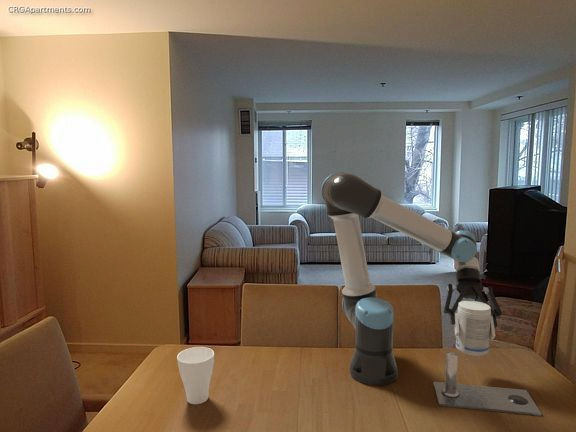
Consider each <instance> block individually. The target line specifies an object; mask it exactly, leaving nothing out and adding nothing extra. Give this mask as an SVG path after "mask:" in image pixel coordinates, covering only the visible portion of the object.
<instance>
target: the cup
mask: <svg viewBox="0 0 576 432" xmlns="http://www.w3.org/2000/svg"><path fill="white" fill-rule="evenodd" d="M176 360H177V361H176V362H177V367H178V371H179V375H180V379H181V381H182V384H183V387H184V390H185V395H186V401H187V403H189V404H191V405H201V404H203V403H205V402H206V401H208V399H209V392H210V391H209V390H210V385H211V384H210V383H211V379H212V375H213V370H214V364H215V352H214V350H213V349H212V348H209V347H207V346H206V347H205V346H194V347H193V346H192V347H189V348H186V349H183V350H181V351H180V352H179V353H178V354H177V357H176Z"/></svg>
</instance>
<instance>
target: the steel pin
mask: <svg viewBox="0 0 576 432" xmlns="http://www.w3.org/2000/svg"><path fill="white" fill-rule="evenodd" d="M458 360H459V354H458V353H456V352H453V351H449V352H446V360H445V361H446V363H445V364H446V365H445V382H444V383H445V388H444V389H443V394H444V395H445V396H447V397H451V398H455V397H458V396H459V392H458V391H457V390H456V386H457V384H458V380H457V379H458Z"/></svg>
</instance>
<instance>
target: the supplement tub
mask: <svg viewBox="0 0 576 432" xmlns="http://www.w3.org/2000/svg"><path fill="white" fill-rule="evenodd" d="M489 305H490V304H489ZM489 305H487V304H485V303H482V302H477V300H462V301H461V302H459V304H458V308H457V311H456V313H458V323H459V335H458V336H455V347H456V349H457V350H458V351H459V352H460V353H463V354H466V355H468V356H469V355H470V356H475V357H480V356H481V357H482V356H485V355H487V354H488V353H489V352H490V349H489V348H490V339H491V338H490V323H491V308H492V306H491V305H490V306H489Z"/></svg>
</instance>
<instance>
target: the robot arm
mask: <svg viewBox="0 0 576 432" xmlns="http://www.w3.org/2000/svg"><path fill="white" fill-rule="evenodd" d="M320 190H321V196H322V199H323V200H324V202H325V206H326V211H327V212H326V213H327V216H328V217H329V218H331V219H332V221H333V225H334V231H335V236H336V240H337V241H336V242H337V247H338V252H339V253H338V254H339V258H340V265H341V268H342V269H341V271H342V274H343V280H344V285H345V286H344V287H343V288H342V290H341V294H342V302H341V304H342V311H343V314H344V316H345V317H346V318H347V319H348V320H349V322H350V323H351V325H352V327H354V328H353V329H354V330H355V347H354V348H355V350H354V351H353V352H354V353H353V354H352V358H351V361H350V363H349V374H350V376H351V377H352V378H353V379H355V380H356V381H357V382H360V383H362V384H365V385H369V386H370V385H371V386H386V385H389V384H392V383H394V382H395V381H396V380H397V379H398V375H399V368H398V365H397V362H396V359H395V355H394V353H393V351H394V350H393V347H394V346H393V345H394V321H395V316H394V315H395V314H394V308H393V305H391V304H390V302H388V301H387V300H385V299H382V298H380V297H378V294H377V289H376V285H375V284H373V283H372V282H371V280H370V274H369V269H368V263H367V259H366V258H367V257H366V250H365V245H364V239H363V234H362V227H361V222H360V217H362V218H365V219H366V220H368V219H374V220H375V221H377V222H379V223H381V224H383V225H385V226H387V227H389V228H391V229H394V230H395V231H398V232H399V233H401V234H403V235H405V236H407V237H409V238H411V239H413V240H415V241H417V242H418V243H420V244H421V245H422V247H423V248H426V249H428V250H433V251H435V252H437V253H440V254H441V255H444V256H446V257H448V258H450V259H453V260H454V267H455V268H454V269H455V280H456V284H451V283H449V284H447V286H446V287H447V288H446V290H447V291H446V292H447V295H446V301H445V305H444V308H443V313H444V314H447V315H449V317H450V318H449V320H450V324H451V325H452V326H453V327H454V337H456V336H458V335H459V323H458V313H457V311H458V304H459V302H461V301H463V299H468V300H469V299H472V300H475V301H477V302H482V303H485V304H487V305H489V306H490V307H491V323H490V338H489V339H490V340H494V339H495V338H496V331H495V329H497V327H498V323H497V319H500V318H501V316H502V314H503V313H502V312H503V311H502V310H501V307H500V306H499V303H498V301H497V299H496V297H495V294H494V290H493V289H494V288H493V286H491V285H490V286H489V287H485V286H484V285H482V284H483V283H482V279H481V272H480V265H479V255H478V250H477V249H478V248H477V247H478V244H477V241H476V237H475V234H474V233H473V232H471V231H469V230H458V231H455V232H454V231H452V230H450V229H448V228H446V227H445V226H442V225H441V224H438V223H437V222H434V221H432V220H431V219H428V218H427V217H425V216H423V215H421V214H419V213H417V212H415V211H413V210H412V209H410V208H407V207H405V206H403V205H402V204H400V203H398V202H396V201H394V200H393V199H390V198H389V197H386V196H384V195H383V192H382V190H380V189H379V188H377V187H374V186H373V185H372V184H370V183H368V182H367V181H365V180H364V179H362V178H361V177H359V176H357V175H356V174H353V173H347V172H343V171H342V172H336V173H332V174H330V175H329V176H327V177H326V178H325V179H324V181H323V182H322V184H321V188H320ZM359 216H360V217H359ZM455 291H457V292H458V293H459V296H458V297H457V299H456V300H455V302H454V304H453V306H452V308H450V305H451V300H452V297H453V293H454V292H455ZM482 292H484V294H485V295H486V296H487V299H488V301H489V303H488V301H487V299H486V298H485V297H484V295H483V293H482Z"/></svg>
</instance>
